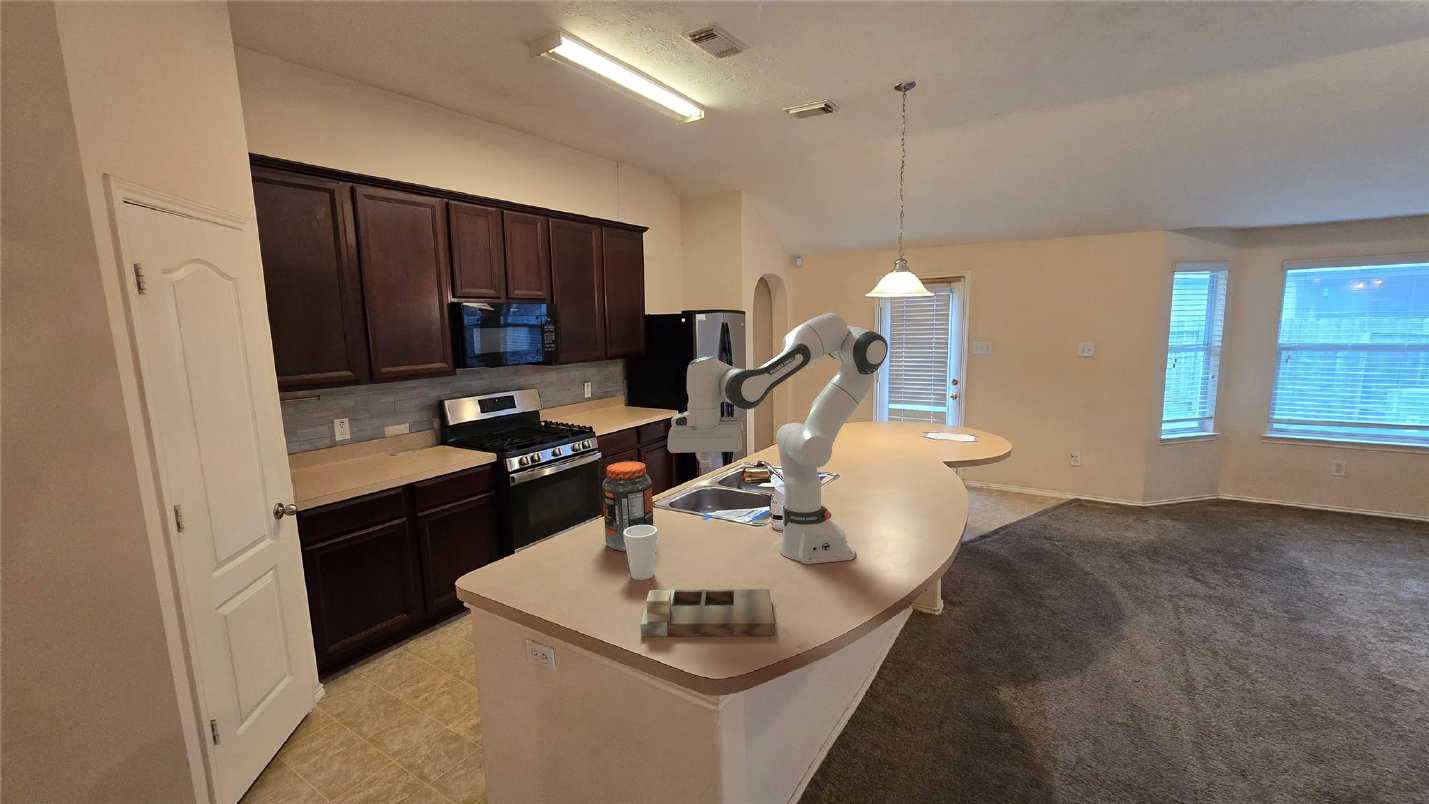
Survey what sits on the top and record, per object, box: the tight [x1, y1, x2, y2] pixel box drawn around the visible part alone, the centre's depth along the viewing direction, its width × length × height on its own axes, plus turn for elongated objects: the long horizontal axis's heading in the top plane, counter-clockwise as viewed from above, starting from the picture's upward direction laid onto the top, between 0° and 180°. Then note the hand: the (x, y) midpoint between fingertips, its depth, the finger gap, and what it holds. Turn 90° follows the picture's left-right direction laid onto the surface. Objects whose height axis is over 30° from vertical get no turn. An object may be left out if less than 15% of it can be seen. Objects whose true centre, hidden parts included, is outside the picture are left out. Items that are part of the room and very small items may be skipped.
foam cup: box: [624, 525, 658, 581], centre depth 153 cm, size 10×9×13 cm
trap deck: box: [640, 588, 775, 637], centre depth 130 cm, size 30×16×3 cm, turn 88°
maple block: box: [645, 589, 672, 622], centre depth 126 cm, size 5×5×5 cm
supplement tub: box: [601, 461, 654, 552], centre depth 176 cm, size 16×16×26 cm
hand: (705, 467), depth 148 cm, fingers closed
